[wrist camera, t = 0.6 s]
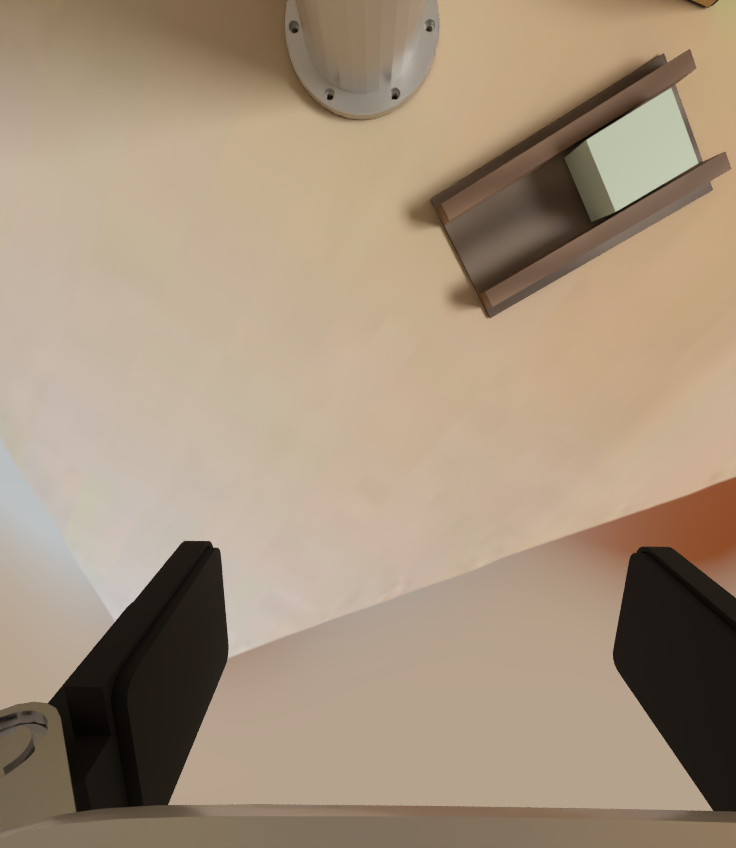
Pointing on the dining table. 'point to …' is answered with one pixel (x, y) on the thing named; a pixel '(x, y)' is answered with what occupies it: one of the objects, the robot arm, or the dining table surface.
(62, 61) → the dining table surface
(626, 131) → the sage block
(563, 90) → the dining table surface
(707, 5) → the puzzle cube
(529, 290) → the chute
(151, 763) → the robot arm
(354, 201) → the dining table surface
